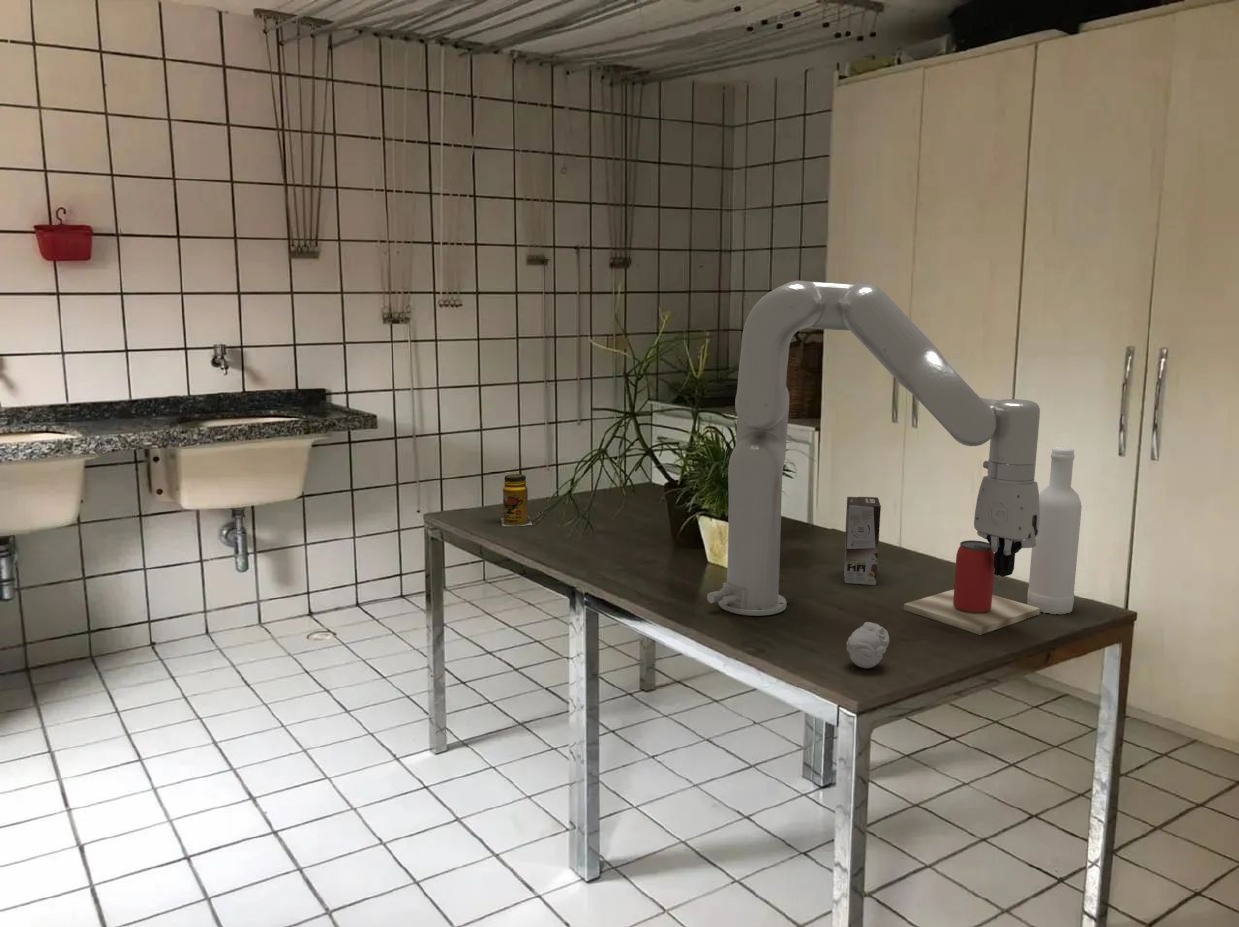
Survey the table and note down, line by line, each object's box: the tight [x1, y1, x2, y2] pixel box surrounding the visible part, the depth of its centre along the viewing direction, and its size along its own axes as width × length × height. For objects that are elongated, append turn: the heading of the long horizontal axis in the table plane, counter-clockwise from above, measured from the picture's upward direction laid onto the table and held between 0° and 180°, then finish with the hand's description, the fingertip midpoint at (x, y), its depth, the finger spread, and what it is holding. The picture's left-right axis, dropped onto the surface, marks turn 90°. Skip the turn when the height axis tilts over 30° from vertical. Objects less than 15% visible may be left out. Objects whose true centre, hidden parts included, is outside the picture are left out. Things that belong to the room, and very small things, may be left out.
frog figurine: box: [846, 621, 890, 669], centre depth 156 cm, size 6×7×7 cm
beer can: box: [953, 540, 995, 613], centre depth 180 cm, size 7×7×12 cm
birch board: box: [903, 588, 1041, 636], centre depth 182 cm, size 18×16×1 cm
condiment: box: [500, 473, 533, 527], centre depth 247 cm, size 7×8×12 cm
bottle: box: [1026, 446, 1083, 615], centre depth 182 cm, size 8×8×30 cm
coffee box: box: [843, 496, 882, 586], centre depth 202 cm, size 9×6×16 cm
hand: (1003, 574), depth 175 cm, fingers closed
